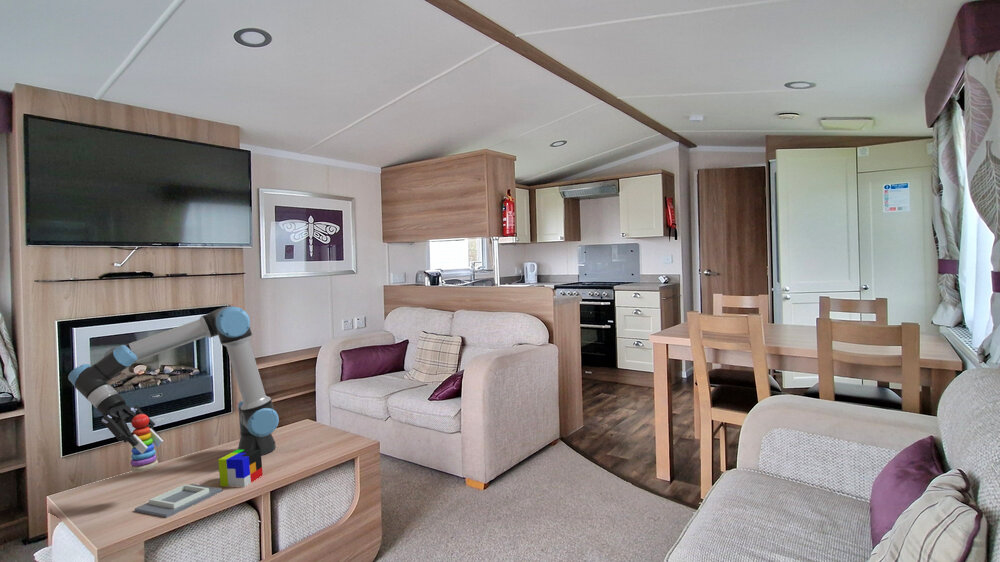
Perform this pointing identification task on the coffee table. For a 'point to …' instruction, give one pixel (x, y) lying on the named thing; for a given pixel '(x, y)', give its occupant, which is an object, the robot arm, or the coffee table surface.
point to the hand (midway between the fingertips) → (152, 447)
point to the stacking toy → (142, 432)
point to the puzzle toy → (240, 468)
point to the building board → (177, 500)
